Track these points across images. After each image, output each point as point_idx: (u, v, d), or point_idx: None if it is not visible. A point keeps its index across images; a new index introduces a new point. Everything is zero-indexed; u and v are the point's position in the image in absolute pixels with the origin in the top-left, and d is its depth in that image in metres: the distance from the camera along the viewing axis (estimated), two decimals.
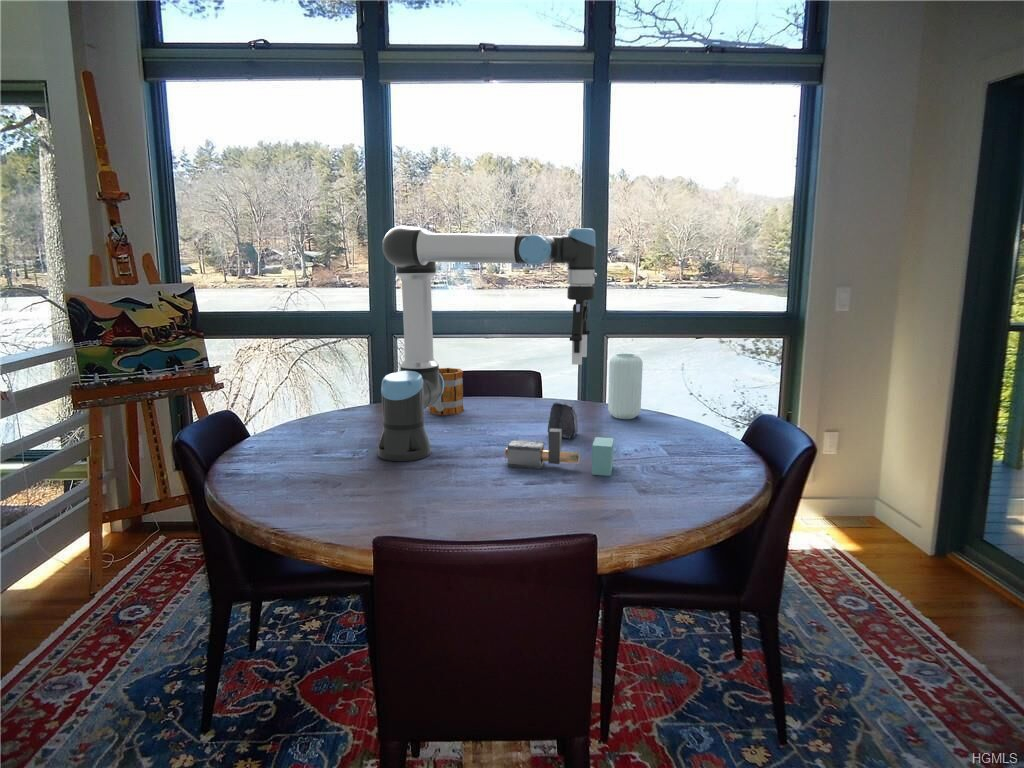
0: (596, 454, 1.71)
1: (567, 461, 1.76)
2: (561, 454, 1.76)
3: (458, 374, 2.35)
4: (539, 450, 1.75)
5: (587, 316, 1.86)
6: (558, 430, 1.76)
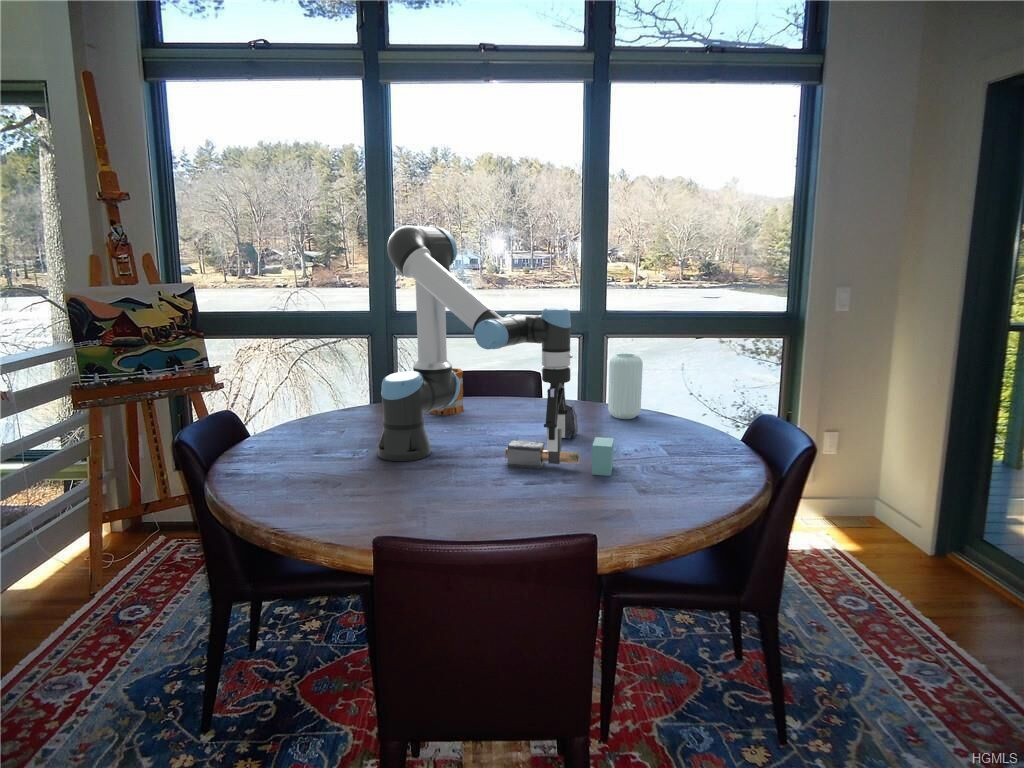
0: (596, 454, 1.71)
1: (567, 461, 1.76)
2: (561, 454, 1.76)
3: (458, 374, 2.35)
4: (539, 450, 1.75)
5: (564, 397, 1.77)
6: (558, 430, 1.76)
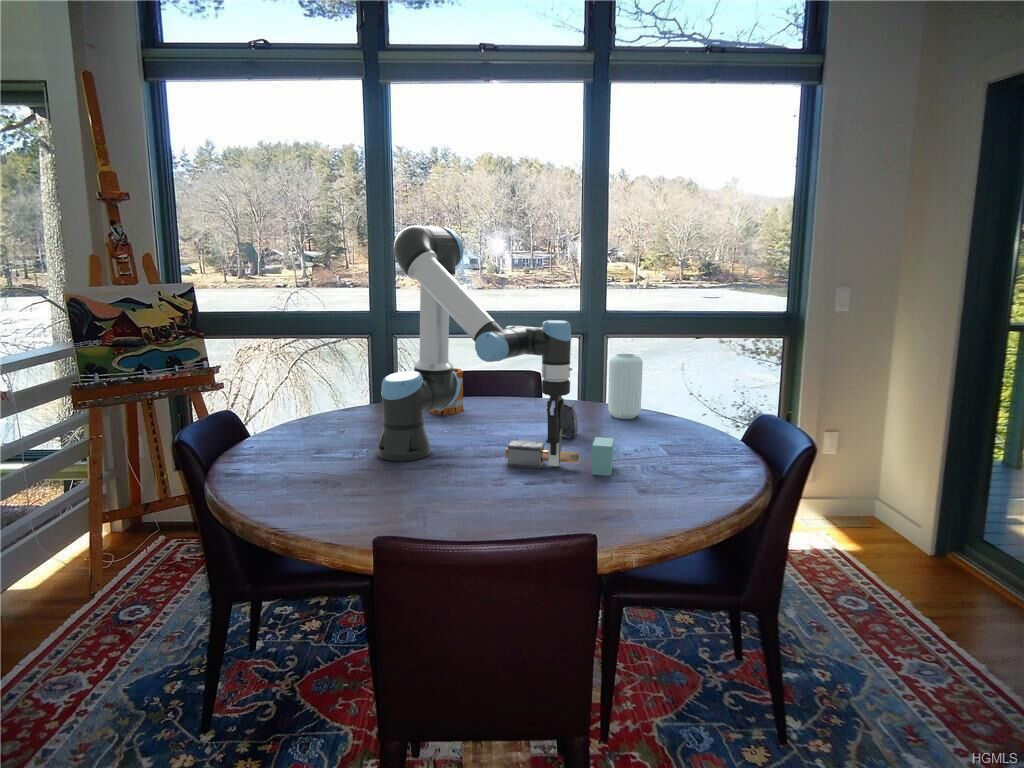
0: (596, 454, 1.71)
1: (567, 461, 1.76)
2: (561, 454, 1.76)
3: (458, 374, 2.35)
4: (539, 450, 1.75)
5: (562, 412, 1.76)
6: None
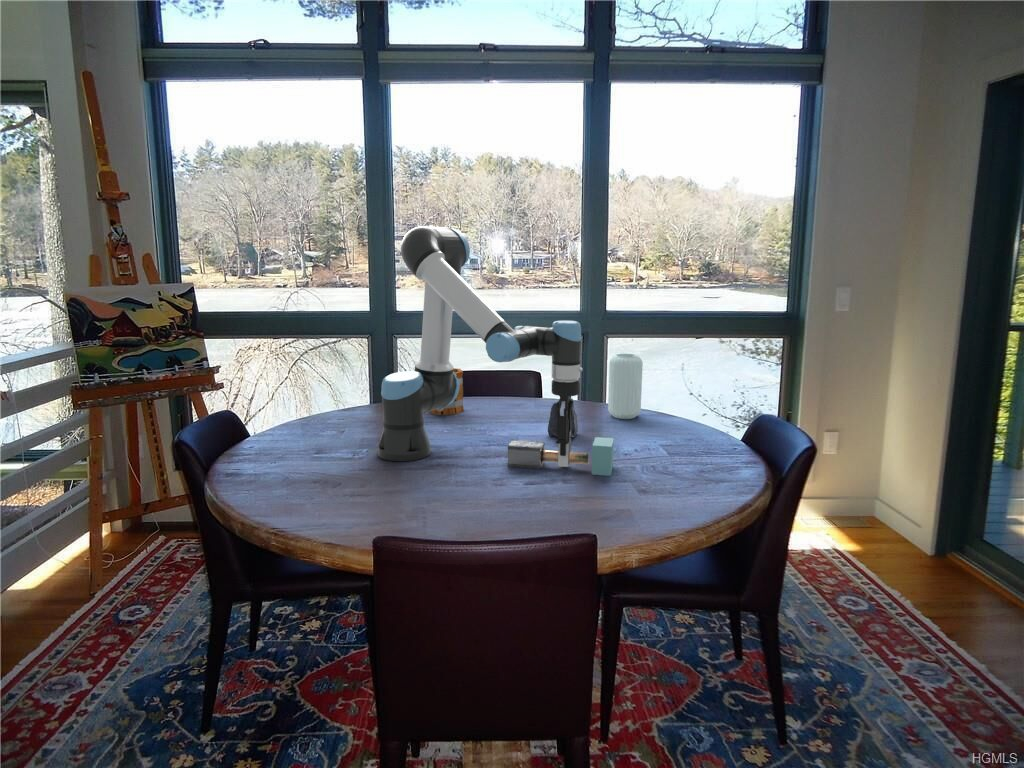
0: (596, 454, 1.71)
1: (577, 462, 1.75)
2: (571, 455, 1.75)
3: (458, 374, 2.35)
4: (539, 450, 1.75)
5: None
6: (568, 431, 1.75)
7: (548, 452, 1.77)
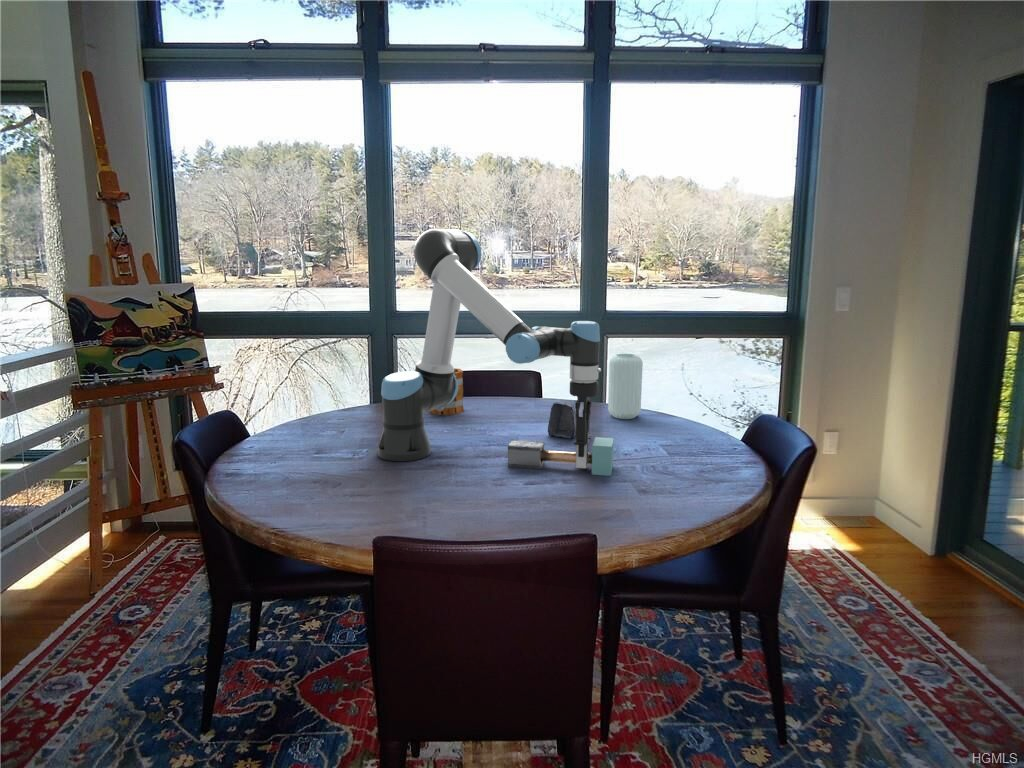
0: (596, 454, 1.71)
1: None
2: (589, 456, 1.74)
3: (458, 374, 2.35)
4: (539, 450, 1.75)
5: None
6: None
7: (566, 453, 1.76)
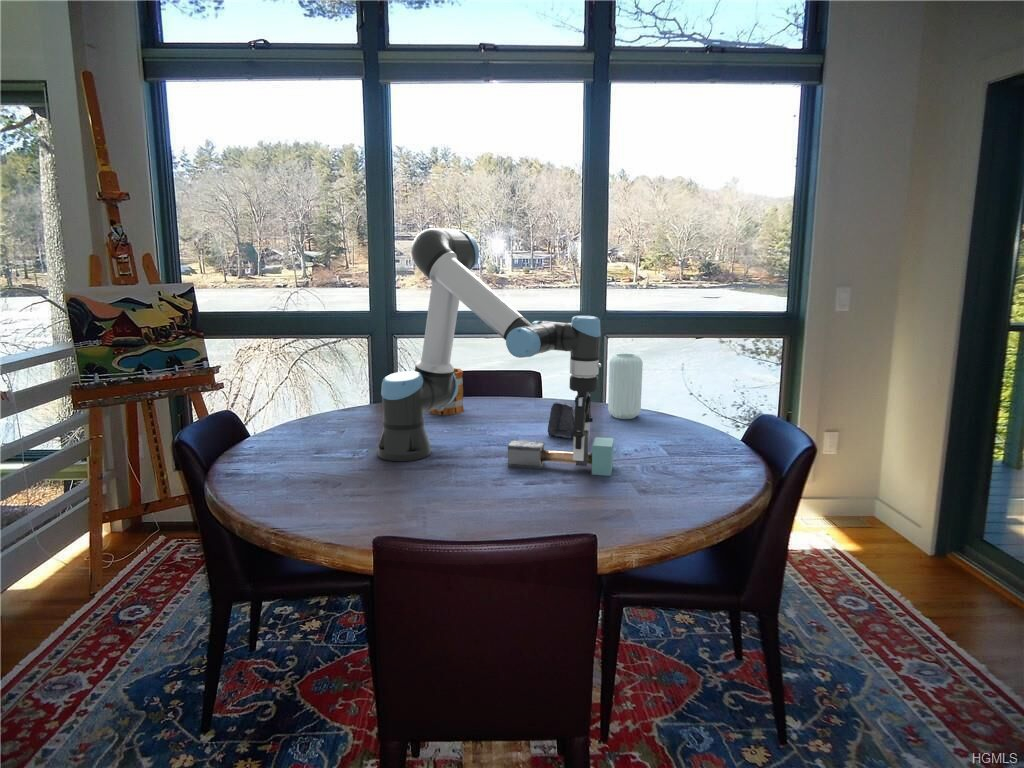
0: (596, 454, 1.71)
1: None
2: (589, 456, 1.74)
3: (458, 374, 2.35)
4: (539, 450, 1.75)
5: (590, 406, 1.76)
6: (586, 432, 1.74)
7: (566, 453, 1.76)
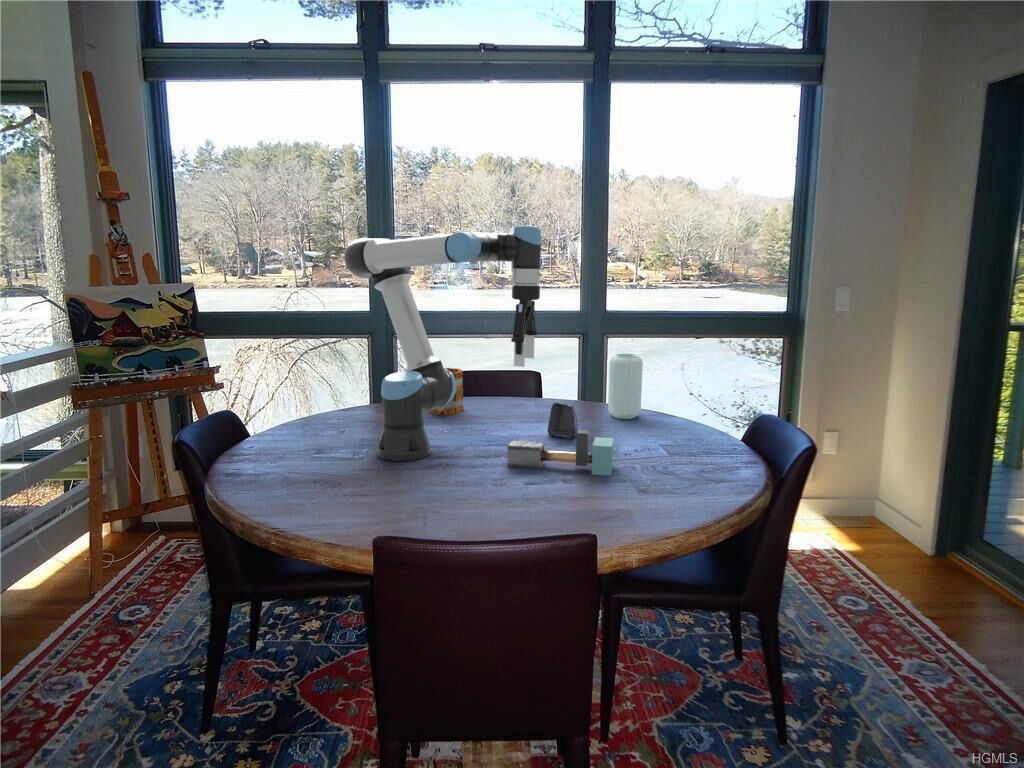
0: (596, 454, 1.71)
1: None
2: (589, 456, 1.74)
3: (458, 374, 2.35)
4: (539, 450, 1.75)
5: (533, 316, 1.80)
6: (586, 432, 1.74)
7: (566, 453, 1.76)
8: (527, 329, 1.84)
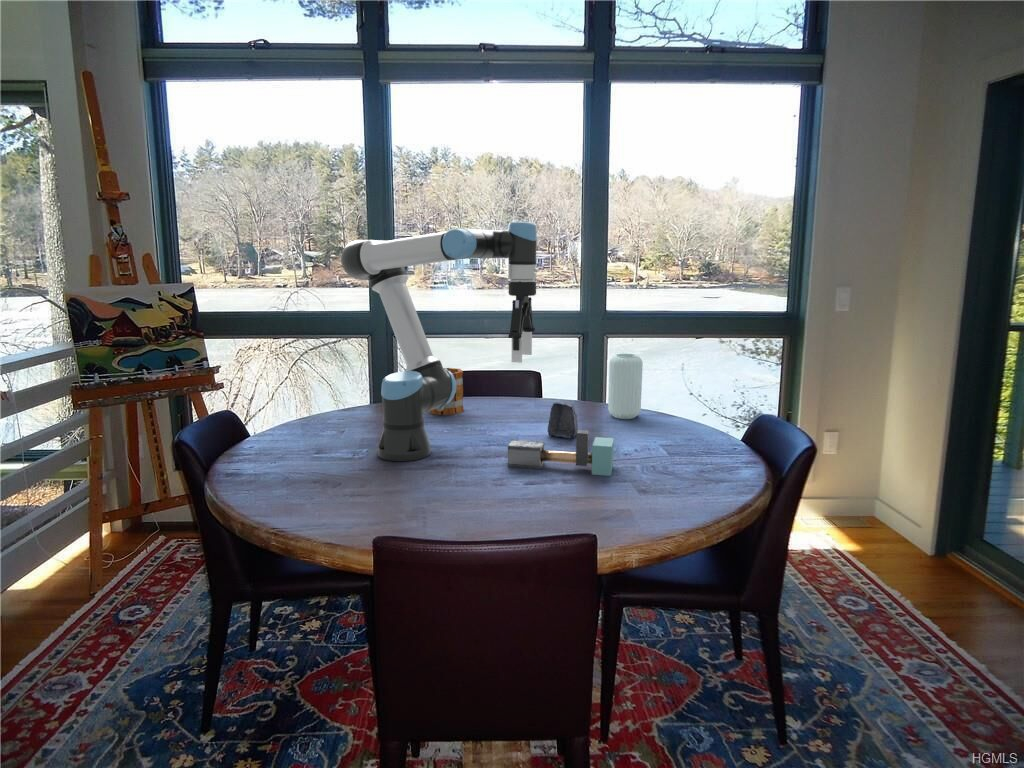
0: (596, 454, 1.71)
1: None
2: (589, 456, 1.74)
3: (458, 374, 2.35)
4: (539, 450, 1.75)
5: (530, 313, 1.80)
6: (586, 432, 1.74)
7: (566, 453, 1.76)
8: (524, 325, 1.85)
